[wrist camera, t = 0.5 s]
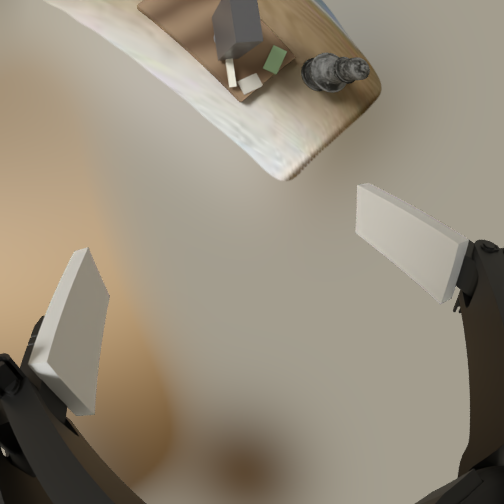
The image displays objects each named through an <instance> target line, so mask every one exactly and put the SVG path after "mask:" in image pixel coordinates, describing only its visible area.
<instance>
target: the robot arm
mask: <svg viewBox="0 0 504 504" xmlns="http://www.w3.org/2000/svg"><path fill="white" fill-rule="evenodd" d="M356 234H357V235H359V236H360V237H362V238H363V239H364V240H365V241H367V242H368V243H369V244H370V245H371V246H373V247H374V248H375V249H377V250H378V251H379V252H380V253H382V254H383V255H384V256H385V257H386V258H388V259H389V260H390V261H391V262H392V263H394V264H395V265H396V266H397V267H398V268H400V269H401V270H402V271H404V273H406V274H407V275H408V276H409V277H410V278H411V279H413V280H414V281H415V282H416V283H417V284H418V285H420V286H421V287H422V288H423V289H424V290H425V291H426V292H427V293H429V294H430V295H431V296H432V297H433V298H434V299H435V300H436V301H437V302H438V303H440V304H442V303H444V302H446V301H447V300H449V299H451V298H452V295H453V293H454V290H455V287H456V286H457V287H458V288H459V289H461V290H460V293H459V295H458V298H457V301H456V303H455V306H454V309H453V312H456V309H457V307H458V306H460V310H459V313H462V320H463V326H464V333H465V340H466V348H467V357H468V369H469V385H470V436H469V443H468V446H467V448H466V450H465V452H464V453H463V455H462V459H461V461H460V466H459V472H458V478H457V479H456V480H454V481H452V482H451V483H448V484H447V485H445V486H443V487H441V488H439V489H437V490H435V491H433V492H431V493H430V494H429V495H427V496H426V497H424V498H423V499H421V500H420V501H418V502H417V503H415V504H504V248H499V247H498V246H497V245H495V244H494V243H492V242H490V241H486V240H477V241H476V242H475V243H473V242H471V241H470V240H469V239H468V238H466V237H465V236H463V235H462V234H460V233H459V232H457V231H455V230H454V229H452V228H451V227H449V226H447V225H446V224H444V223H442V222H441V221H439V220H437V219H435V218H434V217H432V216H430V215H429V214H427V213H425V212H423V211H422V210H420V209H418V208H416V207H414V206H412V205H411V204H409V203H407V202H405V201H403V200H402V199H400V198H398V197H396V196H394V195H392V194H390V193H388V192H386V191H384V190H382V189H380V188H378V187H376V186H374V185H372V184H370V183H365V184H359V185H357V212H356ZM109 297H110V295H109V294H108V291H107V289H106V287H105V285H104V283H103V280H102V278H101V276H100V274H99V271H98V269H97V267H96V265H95V262H94V260H93V257H92V255H91V253H90V250H89V248H88V247H87V248H84V249H81V250H77V251H74V253H73V255H72V257H71V259H70V261H69V263H68V265H67V267H66V269H65V271H64V273H63V275H62V277H61V280H60V282H59V284H58V286H57V288H56V291H55V293H54V295H53V297H52V300H51V302H50V305H49V307H48V309H47V312H46V314H45V316H42V317H41V318H40V320H39V321H38V322H37V324H36V325H35V327H34V329H33V332H32V334H31V338H30V340H29V342H28V346H27V348H26V351H25V354H24V357H23V360H22V363H21V366H20V368H19V367H18V366H17V365H16V364H15V362H14V361H13V360H12V359H11V357H10V356H9V355H8V354H5V353H4V354H0V504H146V503H145V502H144V501H143V500H142V499H140V498H139V497H138V496H137V495H136V494H135V493H134V492H133V491H132V490H131V489H130V488H129V487H128V486H127V485H126V484H124V482H123V481H122V480H121V479H120V478H119V477H118V476H117V475H116V474H115V473H114V472H113V471H112V470H111V469H110V468H109V467H108V466H107V464H106V463H105V462H104V461H103V460H102V459H101V458H100V457H99V455H98V454H97V453H96V452H95V451H94V450H93V449H92V447H91V446H90V445H89V444H88V442H87V441H86V440H85V438H84V437H83V436H82V435H81V433H80V432H79V431H78V429H77V428H76V427H75V426H74V424H73V423H72V421H71V420H70V419H68V418H67V417H66V412H67V407H68V408H69V409H70V410H71V411H72V412H73V413H74V414H75V415H76V416H83V415H94V414H95V400H96V399H95V398H96V386H97V376H98V367H99V359H100V351H101V343H102V337H103V330H104V324H105V318H106V312H107V307H108V302H109ZM1 447H2V448H3V449H4V450H5V453H6V456H4V455H3V453H2V451H1Z"/></svg>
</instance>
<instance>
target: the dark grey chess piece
mask: <svg viewBox="0 0 504 504" xmlns="http://www.w3.org/2000/svg"><path fill="white" fill-rule="evenodd" d="M369 72H370V69H369V66H368V64H367V62H366V61H365V60H363V59H362V58H350V59H349V58H347V57H340V58H339V57H338V56H336V55H334V54H332V53H322V54H319V55H318V56H316V57H315V58H311V59H309V60H307V61H306V62H305V63H304V65H303V66H302V70H301V75H302V78H303V81H304V82H305V84H306V85H307V86H308V87H309V88H311V89H313V90H315V91H326V92H332V93H333V92H338V91H340V90H342V89H343V88H344V87H345V85H346V83H347V84H349V83H352V82H354V81H355V80H363V79H366V78H367V77H368V75H369Z"/></svg>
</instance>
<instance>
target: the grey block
mask: <svg viewBox="0 0 504 504" xmlns="http://www.w3.org/2000/svg"><path fill="white" fill-rule="evenodd" d="M212 22H213V29H214V42H215V43H216V50H217V57H218V61H220V60H225V61H226V68H227V75H228V82H229V87H236V86H237V85H236V78H235V71H234V64H233V59H239V58H240V57H241V56H243V55H244V54H246V53H247V52H248V51H250V50H251V49H253V48H254V47H256V46H257V45H259V44H260V43H261V42H263V35H262V28H261V22H260V16H259V9H258V3H257V0H221V1H220V3H219V5H218V6H217V8H216V10H215V12H214V14H213V16H212Z"/></svg>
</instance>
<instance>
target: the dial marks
mask: <svg viewBox="0 0 504 504" xmlns="http://www.w3.org/2000/svg"><path fill="white" fill-rule="evenodd" d="M286 53H287V51H285V50H283V49H281V48H279V47H277V46H275V45H273V47H272V49H271V51H270V53H269V56H268V58H267V60H266V62H265V64H264V66H263V69H265V70H268V71H270V72H272V73H274V74H277V72H278V70H279V68H280V66H281V64H282V61H283V59H284V57H285V55H286ZM237 83H238V85H239V87H240V88H241V90H242V92H243V94H244V95H245V94H247V93H249V92H251V91H253V90H255V89H257V88H259V87H262V86H263V84H262V83H261V81H260V79H259V77H258V75H257V73H255V74H253V75H250V76H248V77H246V78H244V79H242V80H240V81H237Z"/></svg>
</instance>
